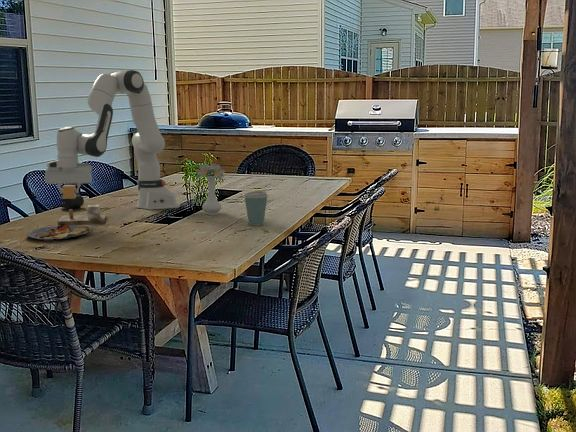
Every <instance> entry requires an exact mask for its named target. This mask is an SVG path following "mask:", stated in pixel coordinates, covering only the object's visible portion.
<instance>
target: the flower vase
mask: <svg viewBox="0 0 576 432" xmlns="http://www.w3.org/2000/svg"><path fill="white" fill-rule="evenodd" d="M225 173H226V170H224V169H223V168H221V165H220V164H218V163H217V164H216V163H211V164H210V165H208V164H207V163H206V162H205V163H204V164H199V169H197V170H196V175H197V177H196V180H199V179H202V178H203V177H204V176H205V177H206V178H207V182H208V183H207V185H208V190H207V193H208V194H207V198H206V199H205V201H204V203H203V204H202V207H201V208H202V210H203V212H205V215H207V216H215V215H219V213H220V211H221V210H222V205H221V203H220V202H219V201H218V199H217V197H216V190H215V189H216V188H215V187H216V186H215V184H216V181H215V180H216V178H217V179H218V180H220V181H221V180H222V179H223V178H224V176H225V175H224V174H225Z"/></svg>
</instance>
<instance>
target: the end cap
mask: <svg viewBox="0 0 576 432" xmlns="http://www.w3.org/2000/svg"><path fill="white" fill-rule="evenodd" d="M59 199H60V200H59V201H60V208H61V211H69V210H70V209H73V210H74V209H79V208H81V207H82V206H83V205H84V203H85V199H84V197H83V196H82V195H81V194H76V197H75V199H63V196H62V197H60V198H59ZM61 202H63V203H61Z"/></svg>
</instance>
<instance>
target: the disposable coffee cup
mask: <svg viewBox="0 0 576 432" xmlns="http://www.w3.org/2000/svg"><path fill="white" fill-rule="evenodd" d="M243 198H244V203H245V209H246V214H247V215H246V216H247V219H248V225H249V226H253V227H256V226H263V225H264V223H265V216H266V208H267V199H268V194H267V191H264V190H255V191H248V192H246V193H244V195H243Z"/></svg>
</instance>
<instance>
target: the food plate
mask: <svg viewBox="0 0 576 432" xmlns="http://www.w3.org/2000/svg"><path fill="white" fill-rule="evenodd" d="M90 231H91V230H90V227H89V226H84V225H83V226H82V225H74V224H61V225H56V226H47V227H46V226H45V227H41V228H37V229H33V230H29V231H28V232H27V233H25V235H26V236H27V237H29V238H32V239H37V240H41V241H45V242H46V241H49V242H51V241H54V240H55V239H56V241H57V240H58V241H59V240H65V239H67V240H68V239H69V238H76V237H78V236H82V235H87V234H88V233H89V232H90Z"/></svg>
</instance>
